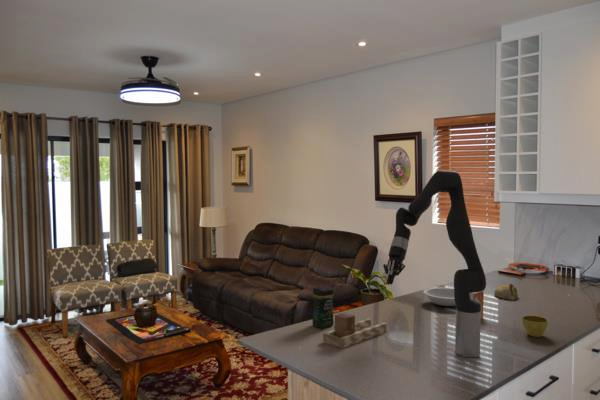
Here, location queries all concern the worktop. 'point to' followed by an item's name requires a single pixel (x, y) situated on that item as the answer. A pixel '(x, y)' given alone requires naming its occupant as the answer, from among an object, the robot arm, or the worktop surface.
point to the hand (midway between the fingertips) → (389, 283)
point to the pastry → (506, 292)
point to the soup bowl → (441, 296)
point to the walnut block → (344, 324)
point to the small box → (478, 299)
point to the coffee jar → (323, 306)
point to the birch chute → (355, 334)
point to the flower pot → (534, 325)
